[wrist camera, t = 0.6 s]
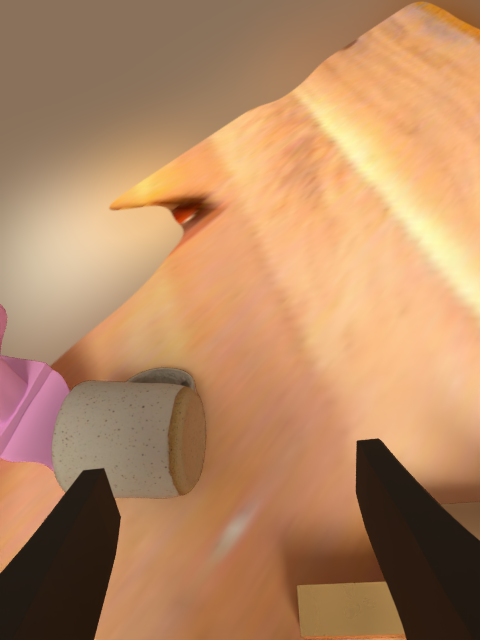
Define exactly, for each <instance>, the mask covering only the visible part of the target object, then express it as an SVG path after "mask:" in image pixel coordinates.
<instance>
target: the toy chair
mask: <svg viewBox="0 0 480 640" xmlns="http://www.w3.org/2000/svg"><path fill="white" fill-rule="evenodd" d="M6 324H7V314H6V311H5V309H4V308H3V306H2V305H0V352H1V343H2V339H3V335H4V332H5V329H6ZM69 392H70V390H69V388H68V386H67V384H66V382H65V380H64V379H63V377H62V376H61V375H60V374H59V373H58V372H56V371H54V370H52V368H51V367H50V366H49V365H48V364H47V363H44V362H38V361H33V360H26V359H18V358H13V357H7V356H2V355H0V458H1V459H4V460H6V461H10V462H36V463H41V464H43V465H46V466H47V467H49V468H50V469H51V470H52V471H53V472H54V468H53V463H52V455H51V454H52V452H51V446H52V438H53V431H54V426H55V422H56V418H57V415H58V412H59V410H60V408H61V405H62V403H63V401H64V399H65V397H66V396H67V395H68V393H69Z"/></svg>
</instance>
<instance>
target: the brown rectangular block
mask: <svg viewBox="0 0 480 640" xmlns="http://www.w3.org/2000/svg"><path fill="white" fill-rule="evenodd" d="M297 594H298V607H299V620H300V632H301V637H302V638H304V639H343V638H383V637H406V636H405V632H404V629H403V626H402V623H401V620H400V617H399V614H398V612H397V609H396V606H395V604H394V601H393V598H392V596H391V593H390V591H389V588H388V586H387V583H386V582H363V583H340V584H316V585H297Z"/></svg>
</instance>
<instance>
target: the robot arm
mask: <svg viewBox="0 0 480 640" xmlns="http://www.w3.org/2000/svg"><path fill="white" fill-rule="evenodd" d="M356 495H357V499H358V503H359V507H360V510H361V514H362V518H363V521H364V525H365V528H366V531H367V534H368V536H369V539H370V542H371V544H372V547H373V550H374V552H375V555H376V557H377V560H378V562H379V565H380V568H381V570H382V573H383V575H384V578H385V580H386V583H387V586H388V588H389V591H390V593H391V596H392V598H393V601H394V604H395V606H396V609H397V612H398V614H399V617H400V620H401V623H402V626H403V629H404V632H405V636H406V639H407V640H480V540H479V539H478V538H476V537H475V536H474V535H473V534H472V533H471V532H469V531H468V530H467V529H466V528H465V527H464V526H463V525H461V524H460V523H459V522H458V521H457V520H456V519H455V518H454V517H453V516H452V515H451V514H450V513H448V512H447V511H446V510H445V509H444V508H443V507H442V506H441V505H440V504H439V503H438V502H437V501H436V500H435V499H434V498H433V497H432V496H431V495H430V494H429V493H428V492H427V491H426V490H425V489H424V488H423V487H422V486H421V485H420V484H419V483H418V482H417V481H416V480H415V478H414V477H413V476H412V475H411V474H410V473H409V472H408V471H407V470H406V469H405V468H404V466H403V465H402V464H401V463H400V462H399V461H398V460H397V459H396V457H395V456H394V455H393V454H392V453H391V452H390V450H389V449H388V448H387V447H386V446H385V444H384V443H383V442H382V441H381V440H380V439H369V440H359V441H357V451H356ZM120 519H121V516H120V513H119V510H118V507H117V505H116V502H115V499H114V496H113V493H112V490H111V487H110V484H109V481H108V478H107V475H106V472H105V469H104V468H99V469H90V470H83V471H82V472H81V473H80V475H79V476H78V477H77V479H76V480H75V481H74V482H73V484H72V485H71V486H70V488H69V489H68V490H67V492H66V493H65V494H64V496H63V497H62V498H61V500H60V501H59V502H58V504H57V505H56V506H55V508H54V509H53V510H52V512H51V513H50V514H49V515H48V517H47V518H46V519H45V521H44V522H43V523H42V524H41V526H40V527H39V528H38V529H37V531H36V532H35V533H34V534H33V536H32V537H31V538H30V539H29V541H28V542H27V543H26V544H25V545H24V547H23V548H22V549H21V550H20V551H19V552H18V554H17V555H16V556H15V557H14V558H13V559H12V561H11V562H10V563H9V564H8V565H7V566H6V568H5V569H4V570H3V571H2V572H1V573H0V640H94V637H95V634H96V630H97V626H98V622H99V618H100V614H101V610H102V607H103V603H104V599H105V595H106V591H107V587H108V583H109V579H110V575H111V572H112V568H113V564H114V559H115V555H116V549H117V542H118V535H119V527H120Z"/></svg>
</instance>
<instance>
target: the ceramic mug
mask: <svg viewBox="0 0 480 640" xmlns="http://www.w3.org/2000/svg"><path fill="white" fill-rule="evenodd" d="M205 440H206V429H205V415H204V409H203V405H202V402H201V399H200V397H199V396H198V394H197V393H196V387H195V383H194V380H193V378H192V376H191V375H190V374H188V373H187V372H185V371H183V370H180V369H175V368H156V369H151V370H147V371H144V372H141V373H139V374H137V375H135V376H133V377H132V378H130V379H129V380H127V381H126V382H115V381H84V382H82V383H80V384H78V385H76V386H75V387H74V388H73V389H72V390H71V391H70V392H69V393H68V395H67V396H66V397H65V399H64V401H63V403H62V405H61V408H60V410H59V412H58V415H57V418H56V422H55V426H54V431H53V438H52V446H51V452H52V454H51V455H52V463H53V468H54V473H55V477H56V479H57V481H58V483H59V485H60V486H61V488H62V489H63V491H65V492H67V490H68V489H69V488H70V486H71V485H72V484H73V482H74V481H75V480H76V479H77V477H78V476H79V475H80V473H81V472H82V471H83V470H90V469H99V468H104V469H105V472H106V475H107V478H108V481H109V484H110V487H111V490H112V493H113V496H114V498H155V499H162V498H171V497H176V496H181V495H185V494H187V493H189V492H190V491H191V490H192V489H193V487H194V486H195V485H196V483H197V482H198V480H199V477H200V474H201V470H202V466H203V461H204V453H205Z"/></svg>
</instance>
